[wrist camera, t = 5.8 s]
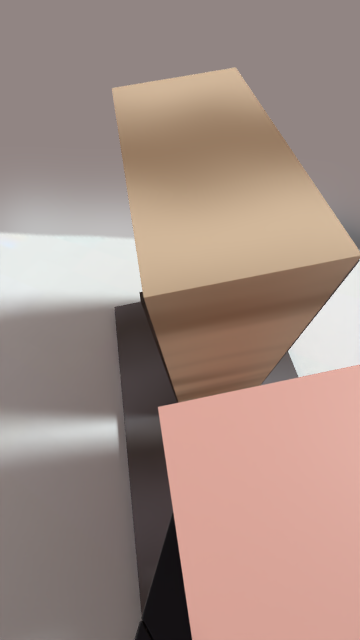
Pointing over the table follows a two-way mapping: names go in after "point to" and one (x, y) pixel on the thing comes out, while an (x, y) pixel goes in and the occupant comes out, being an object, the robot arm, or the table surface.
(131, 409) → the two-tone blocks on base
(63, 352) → the table surface
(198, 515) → the stub
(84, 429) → the table surface
